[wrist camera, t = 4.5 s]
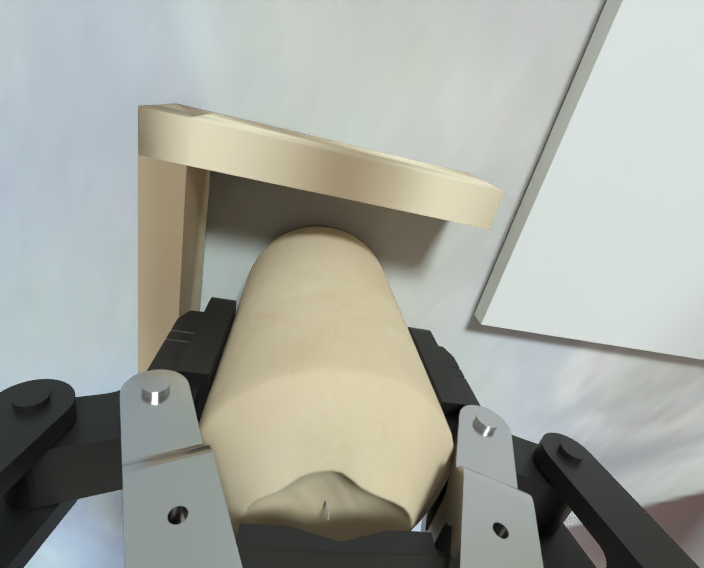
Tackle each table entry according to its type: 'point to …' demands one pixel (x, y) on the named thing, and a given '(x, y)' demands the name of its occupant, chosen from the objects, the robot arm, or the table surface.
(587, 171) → the plate
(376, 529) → the candle
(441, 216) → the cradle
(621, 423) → the table surface
